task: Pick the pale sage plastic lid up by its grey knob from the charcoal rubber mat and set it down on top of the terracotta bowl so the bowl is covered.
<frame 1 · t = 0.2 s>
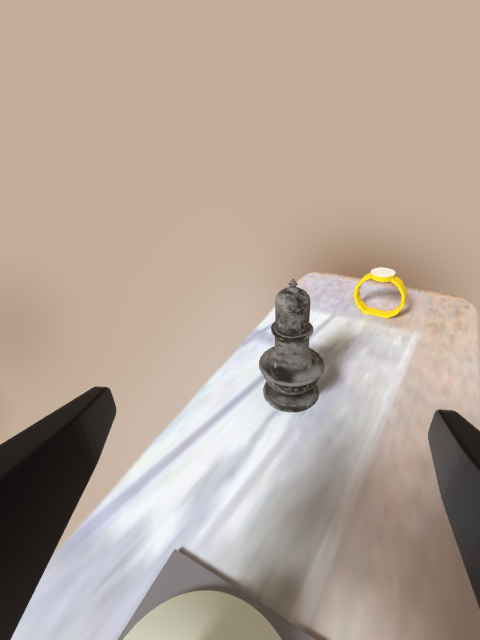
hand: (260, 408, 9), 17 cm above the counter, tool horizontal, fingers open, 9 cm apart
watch: (376, 314, 44), on the counter
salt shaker: (290, 392, 33), on the counter
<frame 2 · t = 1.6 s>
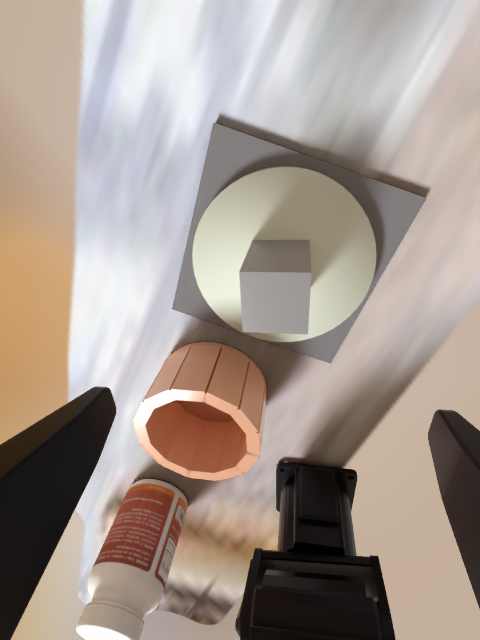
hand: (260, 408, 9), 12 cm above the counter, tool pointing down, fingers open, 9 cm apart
bowl: (213, 385, 25), on the counter
mat: (281, 259, 20), on the counter
pill bottle: (160, 493, 34), on the counter
lid: (281, 261, 19), resting on mat
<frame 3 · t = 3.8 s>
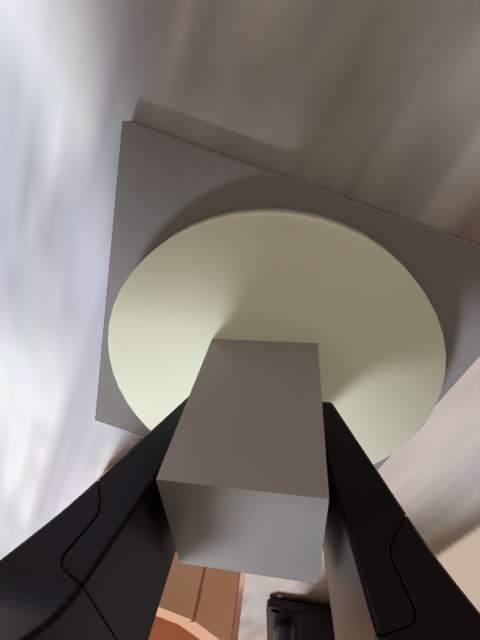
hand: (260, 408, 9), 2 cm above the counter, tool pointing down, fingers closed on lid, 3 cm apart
bowl: (171, 510, 17), on the counter
mat: (267, 357, 11), on the counter
lid: (266, 365, 11), resting on mat, touching gripper
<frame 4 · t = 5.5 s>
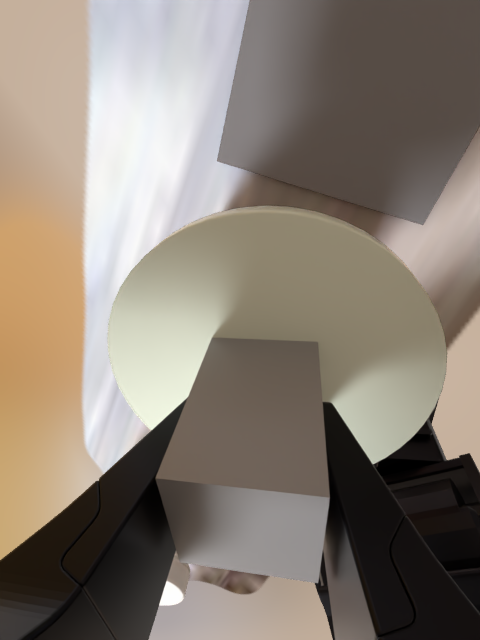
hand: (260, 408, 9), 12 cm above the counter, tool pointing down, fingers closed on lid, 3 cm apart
mat: (368, 63, 15), on the counter
pill bottle: (194, 436, 30), on the counter
lid: (266, 364, 11), point 10 cm above the counter, touching gripper
when the fingers open (8 cm above the counter, at t = 7.5 s): lid drops 1 cm, resting on bowl.
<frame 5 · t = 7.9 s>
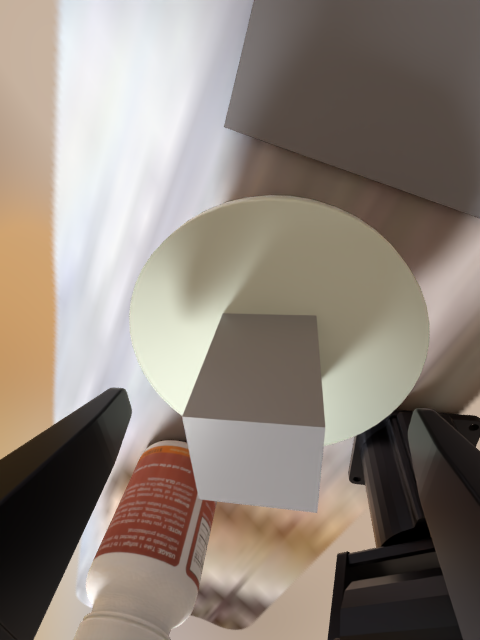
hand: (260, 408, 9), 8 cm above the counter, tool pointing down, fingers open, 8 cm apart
pill bottle: (183, 462, 25), on the counter
lid: (271, 339, 12), point 5 cm above the counter, touching bowl
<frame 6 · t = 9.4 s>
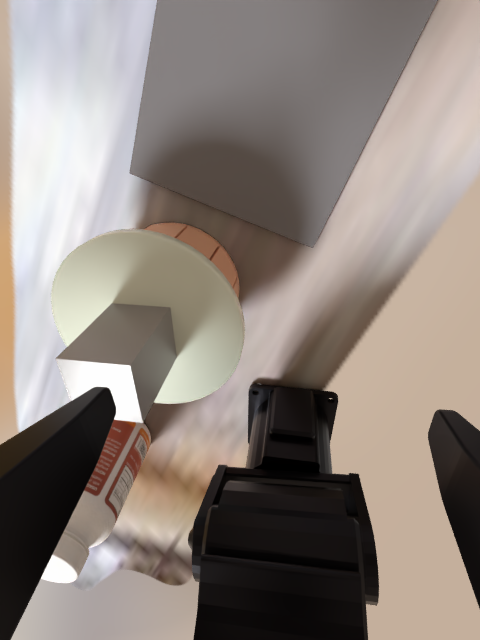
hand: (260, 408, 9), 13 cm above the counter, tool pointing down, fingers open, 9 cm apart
bowl: (179, 283, 22), on the counter
mat: (259, 101, 16), on the counter
pill bottle: (121, 427, 31), on the counter
lid: (151, 323, 18), point 5 cm above the counter, touching bowl
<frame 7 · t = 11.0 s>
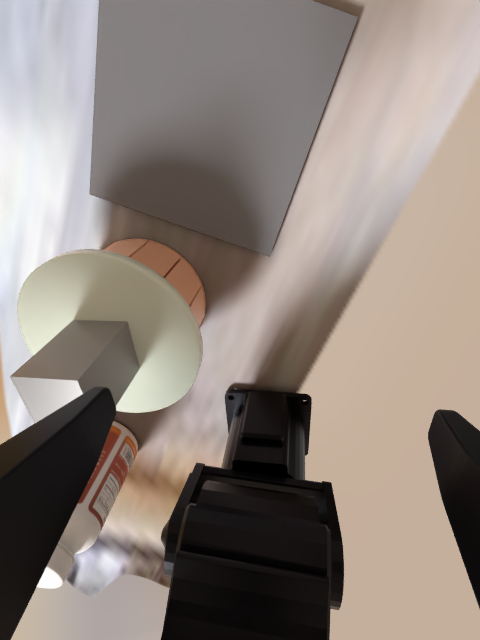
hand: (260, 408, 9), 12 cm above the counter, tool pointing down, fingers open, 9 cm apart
bowl: (148, 296, 23), on the counter
mat: (203, 120, 17), on the counter
pill bottle: (110, 436, 32), on the counter
lid: (114, 336, 19), point 5 cm above the counter, touching bowl
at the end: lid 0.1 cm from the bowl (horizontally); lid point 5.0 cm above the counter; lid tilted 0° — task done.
